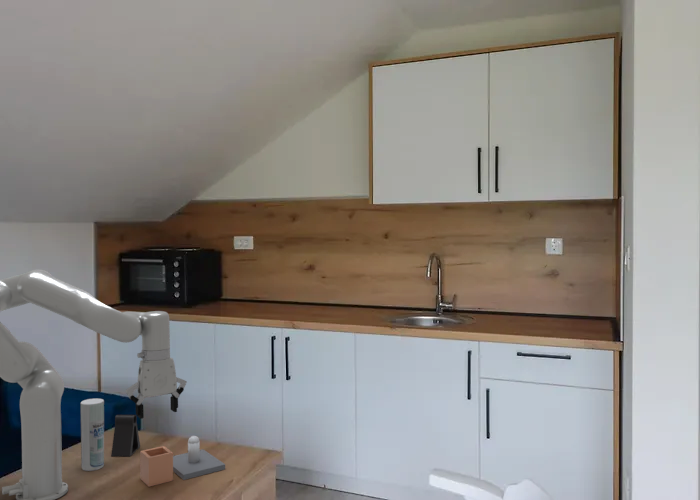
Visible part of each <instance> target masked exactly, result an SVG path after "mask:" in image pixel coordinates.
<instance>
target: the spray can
mask: <svg viewBox="0 0 700 500" xmlns="http://www.w3.org/2000/svg"><path fill="white" fill-rule="evenodd" d="M104 405H105V400H104V399H103V398H87V399H84V400H82V401H81V402H80V442H81V443H80V448H81V449H80V450H81V453H80V454H81V455H80V456H81V459H80V460H81V469H82V471H85V472H88V471H89V472H91V471H97V470H100V469H102V468H103V467H104V466H105V406H104Z"/></svg>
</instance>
